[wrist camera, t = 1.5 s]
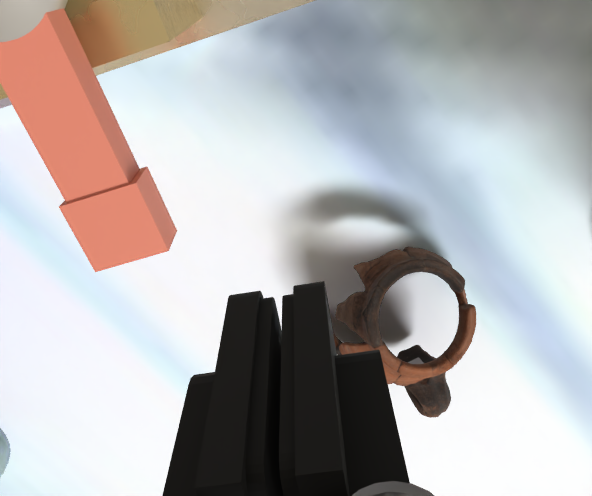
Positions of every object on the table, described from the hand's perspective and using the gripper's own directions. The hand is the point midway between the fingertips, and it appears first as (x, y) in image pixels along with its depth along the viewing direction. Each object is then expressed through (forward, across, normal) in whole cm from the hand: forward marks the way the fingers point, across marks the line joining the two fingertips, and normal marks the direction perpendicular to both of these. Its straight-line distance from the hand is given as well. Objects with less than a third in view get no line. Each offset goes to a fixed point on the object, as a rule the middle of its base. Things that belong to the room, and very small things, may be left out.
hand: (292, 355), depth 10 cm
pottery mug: (+25, -4, +17) cm, 31 cm away
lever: (+13, +8, -3) cm, 16 cm away
